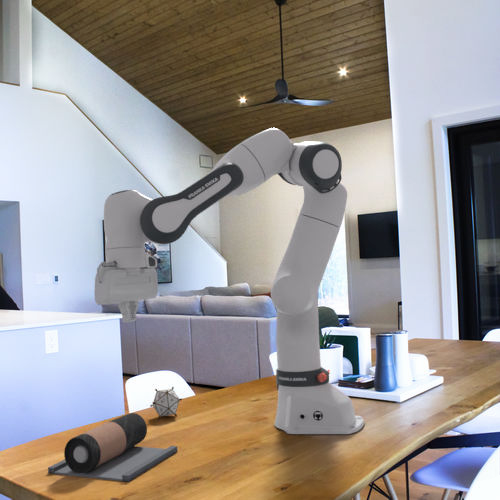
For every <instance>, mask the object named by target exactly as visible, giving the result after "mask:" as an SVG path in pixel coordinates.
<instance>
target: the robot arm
mask: <svg viewBox="0 0 500 500" xmlns="http://www.w3.org/2000/svg"><path fill="white" fill-rule="evenodd" d="M342 168H343V165H342V156H341V154H340V152H339V150H338V149H337V148H336V147H335V146H333V145H332V144H330V143H328V142H325V141H324V142H323V141H302V142H299V143H293V142H292V140H291V139H290V138H289V136H288V135H287V134H286V133H285V132H284V131H282V129H278V128H275V127H273V128H272V127H271V128H268V129H265V130H262V131H261V132H258V133H256V134H254V135H252V136H250V137H248V138H246V139H244V140H242V141H241V142H240V143H238V144H237V145H235V146H234V147H233V148H232V149H230V150H229V151H227V152H226V153H225V154H224V155H223V156H222V157H220V159H219V160H218V161H217V162H216V163H215V165H214V167H213V168H212V169H211V170H210V171H209V173H207V174H206V175H204V176H203V177H202V178H200V179H199V180H197V181H196V182H194V183H192V184H191V185H189V186H188V187H186V188H184V189H182V191H179V192H178V193H176V194H171V195H166V196H159V197H156V198H154V199H153V198H149V197H147V196H146V195H144V194H142V193H140V192H139V191H138V190H136V189H126V190H120V191H117V192H114V193H111V194H110V195H108V197H107V198H106V199H105V202H104V205H103V230H104V234H105V238H106V243H105V248H104V249H105V251H104V252H105V261H102V262H101V263H99V265H98V266H97V268H96V273H95V278H94V301H95V303H96V305H99V306H101V305H105V306H107V305H113V304H117V307H118V310H119V313H120V314H121V315H122V316H121V317H122V319H121V320H122V323H130V322H136V321H137V313H138V309H139V306H140V304H139V301H143V300H144V301H145V300H151V299H156V298H157V296H158V292H159V284H158V282H159V281H158V273H157V270H156V268H157V267H158V259H157V258H156V257H154V256H152V255H151V254H149V253H148V252H146V249H145V246H146V243H148V244H149V243H150V244H155V245H158V246H160V245H161V246H166V245H170V244H172V243H174V242H176V241H178V240H179V239H180V238H181V237H182V236H183V235H184V234H185V232H186V231H187V229H188V227H189V225H190V224H191V223H192V221H193V220H194V219H195V218H196V217H198V216H199V215H200V214H202V213H203V212H204V211H206V210H208V209H209V208H210V207H212V206H213V205H215V204H216V203H217V202H219V201H221V200H223V199H225V198H227V197H231V196H241V195H244V194H247V193H249V192H250V191H253V190H254V189H256V188H258V187H260V186H261V185H263V184H264V183H265V182H267V181H268V180H270V179H271V178H273V177H274V176H276V175H278V176H279V177H280V178H281V180H283V181H284V182H286V183H288V184H290V185H293V186H298V187H299V186H300V187H302V188H303V203H302V205H301V209H300V211H299V212H298V213H299V214H298V216H297V219H296V223H295V225H294V228H293V231H292V234H291V237H290V239H289V243H288V245H287V247H286V250H285V253H284V255H283V257H282V260H281V261H280V264H279V267H278V269H277V272H276V274H275V278H274V280H273V282H272V285H271V289H270V299H271V301H272V305H273V306H274V307H275V309H276V333H275V342H276V343H275V344H276V346H275V347H276V361H277V363H276V364H277V365H276V366H277V369H276V371H275V373H276V374H275V381H276V382H275V383H276V384H275V385H276V391H277V406H276V407H277V408H276V415H275V421H274V424H273V425H274V427H275V428H278V429H280V430H282V431H284V432H285V433H286V434H288V435H351V434H354V433H356V432H358V431H360V430H361V429H362V428H363V427H364V424H365V421H364V418H363V416H361V415H356V414H355V407H354V405H353V402H352V399H351V398H350V397H349V395H347V394H346V393H344V392H342V390H340V389H339V388H337V387H336V386H334V385H333V384H332V383H331V382H330V374H331V373H330V372H331V371H330V370H331V369H328V370H327V369H325V368H324V367H322V366H321V365H322V364H321V346H320V328H319V327H320V325H319V323H320V322H319V321H320V320H319V295H318V291H319V289H320V286H321V283H322V280H323V277H324V274H325V272H326V269H327V266H328V263H329V262H330V261H329V260H330V259H331V256H332V253H333V250H334V248H335V243H336V241H337V238H338V235H339V232H340V230H341V226H342V224H343V220H344V217H345V216H344V215H345V212H346V209H347V208H346V206H347V202H348V200H347V199H348V191H347V188H346V187H345V186H344V185H343V184H342V183H341V182H342V170H343V169H342Z"/></svg>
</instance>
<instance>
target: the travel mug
mask: <svg viewBox="0 0 500 500" xmlns="http://www.w3.org/2000/svg"><path fill="white" fill-rule="evenodd" d="M147 432H148V427H147V423H146V420H145V419H144V418H143V417H142V415H140V414H138V413H135V412H131V413H127V414H124V415H122V416H120V417H117V418H114V419H112V420H109V421H107V422H105V423H102V424H100V425H98V426H96V427H94V428H91V429H89V430H87V431H85V432H83V433H81V434H78V435H77V436H74V437H71V439H69V440H68V441H67V443H66V445H65V447H64V451H63V453H64V454H63V456H64V460H65V461H66V463H67V465H68V467H69V468H70V469H71V470H72V471H73V472H75V473H87V472H88V471H90V470H92V469H94V468H96V467H98V466H100V465H101V464H103V463H105V462H107V461H109V460H111V459H113V458H115V457H117V456H119V455H120V454H122V453H124V452H125V451H127V450H128V449H130V448H132V447H133V446H137V445H138V444H140V443H141V442H143V441H144V440H145V439H146V437H147V434H148V433H147Z"/></svg>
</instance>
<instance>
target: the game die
mask: <svg viewBox="0 0 500 500" xmlns="http://www.w3.org/2000/svg"><path fill="white" fill-rule="evenodd" d="M174 389H175V387H174V386H172V387H171V388H169V389H162V390H161V389H160V390H158V389H157V388H154V391H155V395H154V399H153V401H152V404H150V405H149V407H150V408H151V407H153V408H154V410H155V412H156V413H157V415H158V417H157V418H158V420H159V419H161V417H167V416H175V417H178V415H177V414H176V412H177V409H178V407H179V403H180V401H182V400H183V398H179V396H178V395H177V394H176V392H175V390H174Z"/></svg>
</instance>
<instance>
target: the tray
mask: <svg viewBox="0 0 500 500" xmlns="http://www.w3.org/2000/svg"><path fill="white" fill-rule="evenodd" d="M177 452H178V446H177V445H170V446H169V447H167V448H161V447H158V448H157V447H149V446H137V445H135V446H133V447H132V448H130V449H128V450H127V451H125V452H124V453H122V454H120V455H119V456H117V457H115V458H113V459H111V460H109V461H107V462H105V463H103V464H101V465H100V466H98V467H96V468H94V469H92V470H90V471H88V472H87V473H75V472H73V471H72V470H71V469H70V468H69V467H68V465H67V463H66V461H65V459H63V460H61V461H58V462H56V463H54V464H53V465H50V466H48V467H47V471H48V472H47V473H48V474H50V475H51V474H52V475H59V476H60V475H61V476H69V477H79V478H80V477H81V478H88V479H89V478H90V479H98V480H107V481H118V482H124V483H125V482H126V483H130V482H131V481H132V480H134V479H136V478H137V477H139V476H141V475H142V474H144V473H145V472H147V471H149V470H150V469H152V468H154V467H156V465H158V464H159V463H161V462H163V461H164V460H167V458H170V457H171V456H173V455H174V454H177Z"/></svg>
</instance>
